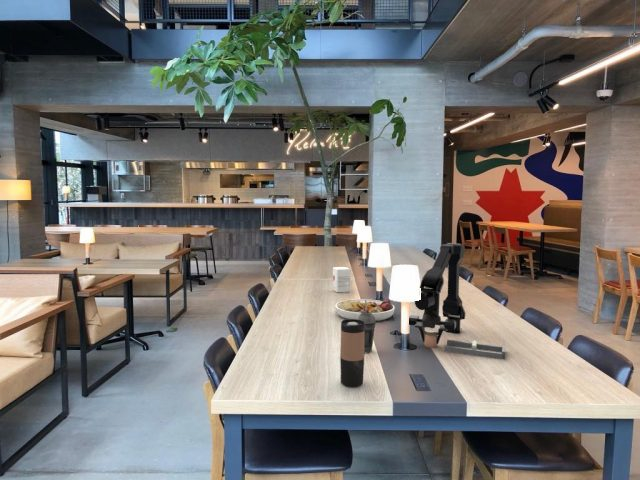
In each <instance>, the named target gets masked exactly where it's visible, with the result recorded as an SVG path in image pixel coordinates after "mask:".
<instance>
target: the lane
mask: <svg viewBox="0 0 640 480" xmlns="http://www.w3.org/2000/svg"><path fill="white" fill-rule="evenodd" d="M472 343H473V341H472V342H469V341H464V340H463V341H462V340H455V339H446V344H445V345H444V346H443V347H444V348H443V350H444V352H447V353H453V354H461V355H469V356H477V357H482V358H483V357H484V358H490V359H498V360H506V350H507V348H506V347H507V344H505V343H502V345H497V344H496V345H495V344H486V343H479V342H477V350H476V349H472Z"/></svg>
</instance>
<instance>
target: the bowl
mask: <svg viewBox="0 0 640 480" xmlns="http://www.w3.org/2000/svg"><path fill="white" fill-rule="evenodd" d="M365 300H366V305H367V311H368V312H371V313H372V314H373V315H374V317H375V321H376V322H380V321H384V320H387V319H390V318H391V317H392V316H393V315H394V313H395V308H396V307H395V305H394V304H392V302H391V300H390V299H388V298H385V299H383V301H382V300H379V299H378V300H376V299H369V298H364V299H363V298H362V299H361V298H360V299H359V298H357V299H356V298H355V299H346V300H345V299H344V300H342V301H338V302H336V304H335V305H334V308H335V312H336V313H337V314H338V316H340V318H341V317H342V318H343V319H345V320H347V319H357V320H358V317H359V315H360V314H361V313H362V312H365Z"/></svg>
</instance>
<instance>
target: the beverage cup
mask: <svg viewBox="0 0 640 480" xmlns="http://www.w3.org/2000/svg"><path fill="white" fill-rule="evenodd" d="M358 320H361V321H364V324H365V328H364V354H368V353H369V354H370V353H372V351H373V345H374V344H373V343H374V335H375V328H376V323H377V321H375V317H374V315H373V314H372V313H371V312H368V311H367V305H366V300H365V312H362V313H361V314H360V315H359V317H358Z"/></svg>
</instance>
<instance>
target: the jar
mask: <svg viewBox="0 0 640 480" xmlns="http://www.w3.org/2000/svg"><path fill="white" fill-rule="evenodd" d="M424 334H425V338H424V342H423V343H424V345H423V346H424V347H425V348H430V349H432V348H433V349H435V348H438V344H437V336H438V331H436V330H431V329H430V330H429V329H428V330H425V331H424Z"/></svg>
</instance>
